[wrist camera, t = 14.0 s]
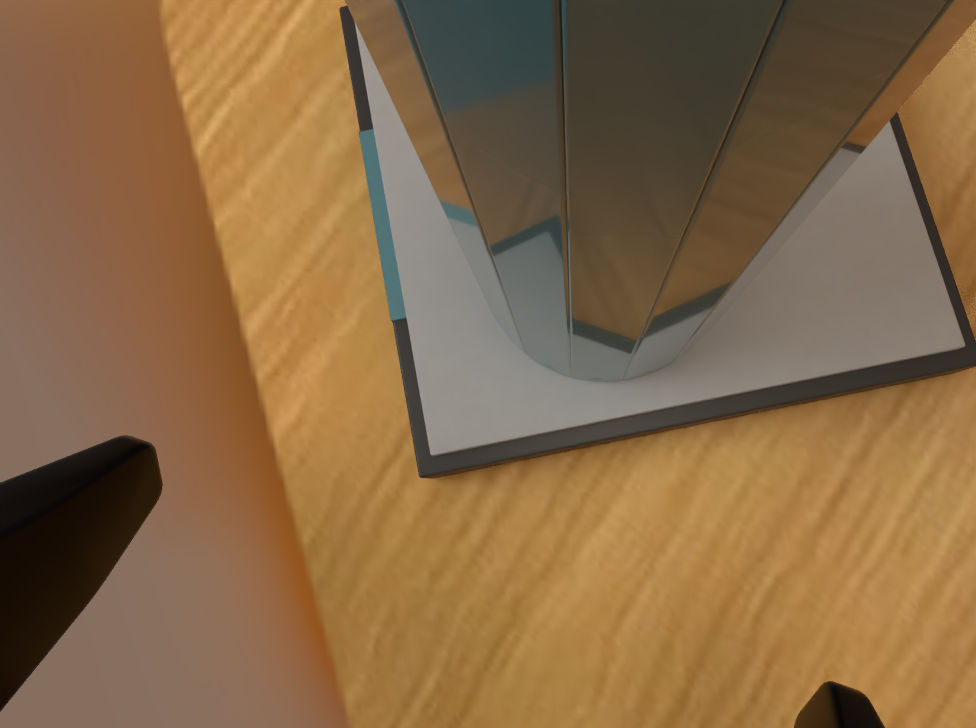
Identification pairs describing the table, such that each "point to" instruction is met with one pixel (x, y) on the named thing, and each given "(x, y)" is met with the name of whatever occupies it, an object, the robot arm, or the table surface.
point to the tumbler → (640, 147)
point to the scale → (710, 362)
